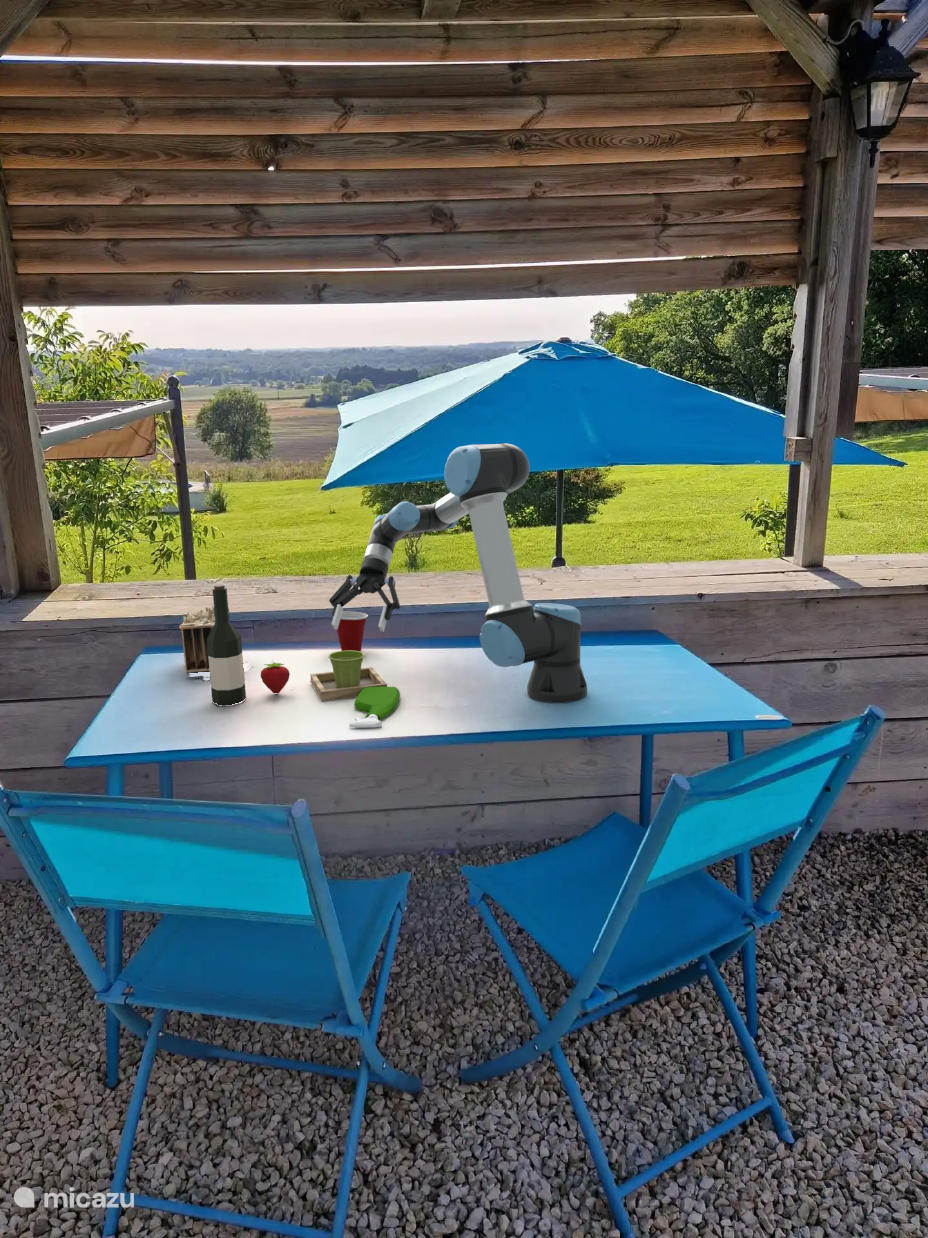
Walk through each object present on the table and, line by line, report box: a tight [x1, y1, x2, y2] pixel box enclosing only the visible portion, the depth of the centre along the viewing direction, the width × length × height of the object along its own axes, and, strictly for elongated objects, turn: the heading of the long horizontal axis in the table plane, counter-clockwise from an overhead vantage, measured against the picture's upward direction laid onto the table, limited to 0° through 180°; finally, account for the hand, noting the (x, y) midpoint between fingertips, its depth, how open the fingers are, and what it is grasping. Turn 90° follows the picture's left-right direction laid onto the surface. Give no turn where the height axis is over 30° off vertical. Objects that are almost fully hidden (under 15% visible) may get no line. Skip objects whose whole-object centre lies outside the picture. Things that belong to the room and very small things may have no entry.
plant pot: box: [328, 650, 365, 688], centre depth 234 cm, size 9×9×9 cm
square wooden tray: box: [310, 666, 388, 702], centre depth 235 cm, size 17×17×2 cm
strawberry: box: [260, 661, 291, 694], centre depth 230 cm, size 6×8×10 cm
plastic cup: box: [336, 611, 369, 652], centre depth 269 cm, size 11×11×12 cm
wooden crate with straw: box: [179, 605, 231, 675], centre depth 255 cm, size 25×25×19 cm
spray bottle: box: [348, 686, 401, 729], centre depth 216 cm, size 3×11×24 cm
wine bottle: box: [207, 584, 247, 705], centre depth 223 cm, size 8×8×30 cm
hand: (357, 628), depth 239 cm, fingers open, 13 cm apart
